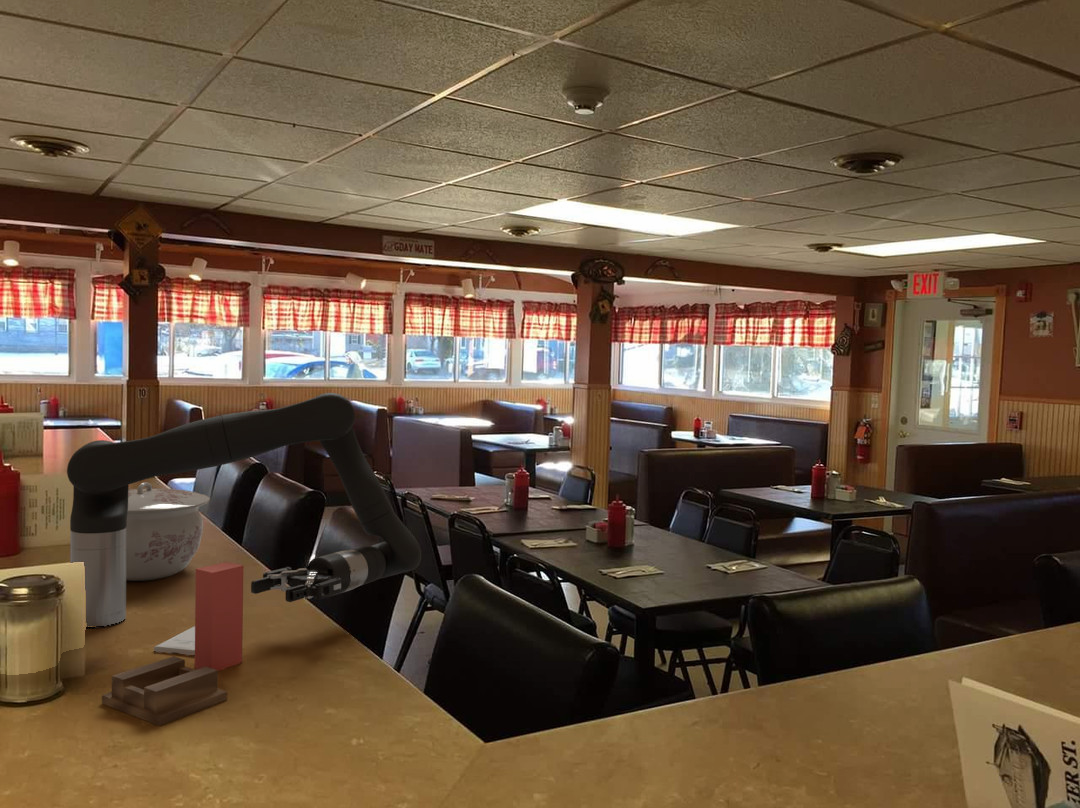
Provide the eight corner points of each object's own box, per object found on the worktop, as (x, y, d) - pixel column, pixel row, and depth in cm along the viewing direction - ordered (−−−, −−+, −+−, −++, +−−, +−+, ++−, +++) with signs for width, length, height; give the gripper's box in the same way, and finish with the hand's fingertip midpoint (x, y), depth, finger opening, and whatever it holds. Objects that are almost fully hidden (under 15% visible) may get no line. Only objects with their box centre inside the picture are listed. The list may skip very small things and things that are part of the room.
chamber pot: (90, 597, 175) (90, 495, 174) (63, 568, 197) (63, 478, 195) (229, 578, 193) (230, 486, 192) (190, 554, 214) (191, 471, 213)
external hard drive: (238, 636, 156) (197, 659, 144) (196, 632, 157) (153, 654, 145) (238, 627, 156) (197, 649, 143) (196, 623, 157) (153, 645, 145)
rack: (102, 703, 123) (102, 674, 123) (170, 680, 133) (170, 653, 133) (159, 725, 117) (159, 695, 116) (226, 699, 126) (227, 671, 126)
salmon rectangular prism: (194, 667, 138) (195, 568, 137) (225, 657, 143) (227, 561, 143) (211, 673, 136) (212, 572, 135) (242, 662, 141) (243, 565, 140)
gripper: (310, 547, 165) (241, 564, 151) (366, 558, 158) (299, 576, 144) (309, 586, 166) (241, 606, 152) (365, 599, 158) (298, 621, 144)
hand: (269, 591), depth 148 cm, fingers open, 8 cm apart
